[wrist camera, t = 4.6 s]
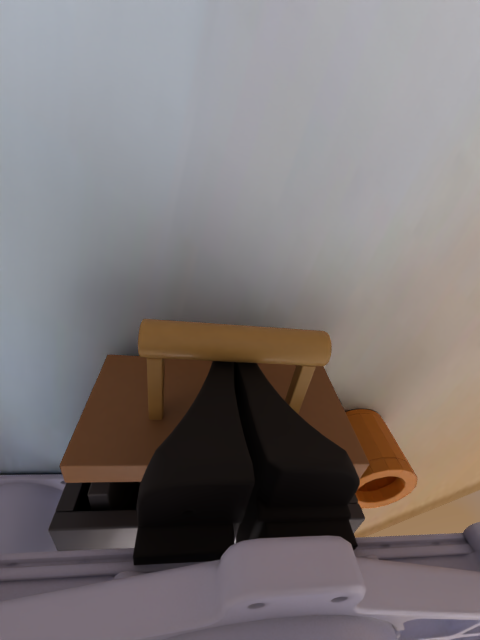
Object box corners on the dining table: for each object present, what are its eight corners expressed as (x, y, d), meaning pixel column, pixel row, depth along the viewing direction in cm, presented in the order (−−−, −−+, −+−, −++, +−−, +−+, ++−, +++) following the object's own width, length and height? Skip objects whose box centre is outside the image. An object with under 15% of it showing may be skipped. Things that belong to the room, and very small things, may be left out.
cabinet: (105, 382, 18) (46, 530, 11) (314, 389, 20) (366, 519, 13) (121, 495, 25) (91, 625, 19) (273, 492, 27) (294, 608, 21)
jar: (313, 447, 24) (333, 509, 20) (332, 408, 21) (359, 470, 17) (368, 448, 25) (397, 507, 21) (392, 409, 22) (431, 469, 18)
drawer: (96, 269, 13) (24, 362, 8) (351, 292, 15) (426, 380, 10) (123, 479, 22) (98, 585, 17) (278, 477, 24) (297, 572, 19)
